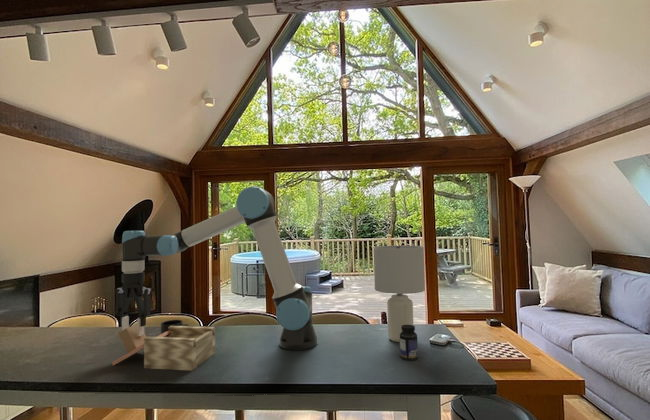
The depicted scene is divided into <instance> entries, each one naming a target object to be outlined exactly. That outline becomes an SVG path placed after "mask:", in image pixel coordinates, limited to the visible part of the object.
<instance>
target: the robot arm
mask: <svg viewBox="0 0 650 420" xmlns="http://www.w3.org/2000/svg"><path fill="white" fill-rule="evenodd" d="M235 204H236V206H233V207H231V208H229V209H227V210H225V211H223V212H221V213H218V214H216V215H214V216H211V217H210V218H207V219H205V220H202V221H200V222H198V223H195V224H193V225H191V226H189V227H187V228H185V229H182V230H180V231H177V232H175V233H173V234H162V235H161V234H159V235H146V233H145V231H144V230H125V231H123V233H122V239H121V257H122V258H121V272H122V274H121V283H122V286H121V287H118V288H115V290H114V293H115V307H114V309H115V312H114V314H115V316H118V317H120V321H119V324H120V327H121V331H123V330H124V329H126V328H128V327H130V326H129V325H130V323H129V322H130V316H129V314H128V312H129V309H130V308H129V307H130V305H131V301H132V299H133V300H134V302H135V304H136V308H137V311H138V317H137V323H136V324H137V336H141V335H143V334H144V332H145V326H146V325H147V317H148V316H150V315H151V314H152V304H151V303H152V301H151V293H152V290H153V289H152V287H149V288H148V287H146V286H145V278H146V277H145V275H146V273H145V267H146V266H145V260H146V259H145V258H146V257H147V256H148V257H149V256H153V257H154V256H158V257H159V256H161V257H167V256H174V255H176V254H180V253H182V252H185V250H187V249H188V248H190V247H193V246H195V245H199V243H202V242H205V241H207V240H208V239H211V238H213V237H216V236H217V235H221V234H222V233H225V232H227V231H229V230H232V229H234V228H236V227H238V226H241V225H243V224H245V225H246V228H247V229H249V230H251V231H253V235H254V238H255V241H256V243H257V246H258V249H259V252H260V254H261V258H262V260H263V264H264V266H265V268H266V271H267V274H268V277H269V280H270V282H271V285H272V288H273V290H274V291H273V295H272V296H271V299H272V301H273V303H274V306H275V309H276V310H275V316H276V321H277V323H278V324H279V325H280V326H281V327H282V331H281V333H280V337H279V346H280V348H282V349H285V350H289V351H290V350H292V351H299V350H300V351H302V350H303V351H304V350H309V349H311V348H313V347H316V346H317V345H318V337H317V333H316V330H315V328H314V324H313V291H312V290H313V289H312V287H310V286H307V285H306V286H304V285H301V284H300V283H297V281H296V278H295V274H294V272H293V270H292V267H291V264H290V260H289V259H288V255H287V253H286V250H285V248H284V244H283V243H282V239H281V236H280V233H279V230H278V228H277V225H276V222H275V221H276V220H277V217H278V216H277V213H276V211H275V206H276V205H275V199H274V196H273V195H272V194H271V193H270V192H269V191H267V190H266V189H264V188H262V187H260V186H248V187H246V188H244V189H242V190H241V191H240V192H239V194H238V195H237V198H236V202H235Z"/></svg>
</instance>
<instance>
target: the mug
mask: <svg viewBox="0 0 650 420" xmlns="http://www.w3.org/2000/svg"><path fill="white" fill-rule="evenodd" d="M170 326H191V324H186V323H184V322H183V320H181V319H171V320H166V321H162V322H160V335H161V334H163V333H164V332H166V331H168V330H170V329H168V327H170ZM170 334H171V333H169V334H168V335H170ZM168 335H166V336H168ZM166 336H164V337H166Z"/></svg>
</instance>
